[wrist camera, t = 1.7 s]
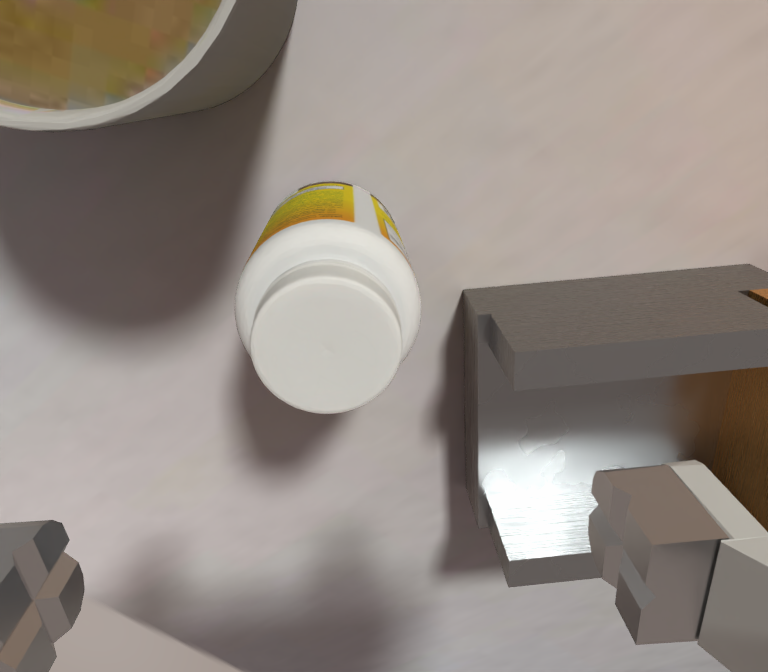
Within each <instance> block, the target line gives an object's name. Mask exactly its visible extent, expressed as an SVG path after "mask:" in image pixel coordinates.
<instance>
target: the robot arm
mask: <svg viewBox="0 0 768 672" xmlns="http://www.w3.org/2000/svg"><path fill="white" fill-rule="evenodd" d="M591 493H592V495H593V496H594V498H595V500H596V501H597V503H598V506H597V507H596V508H595V509H594V510H593V511H592V512H591V514H590V515H589V524H588V536H589V543H590V549H591V553H592V556H593V559H594V562H595V565H596V567H597V569H598V571H599V573H600V575H601V577H602V579H603V580H605V581H606V582H608V583H609V584H611V585H612V586H614V587H615V588H617V591H616V600H615V605H616V607H617V609H618V611H619V613H620V615H621V617H622V619H623V620H624V622H625V624H626V626H627V628H628V630H629V632H630V634H631V636H632V638H633V640H634V642H635V644H636V645H641V644H656V643H672V642H687V641H698V645H699V646H701V647H702V648H703V649H704V650H705V651H707V652H708V653H709V654H710V655H712V656H713V657H714V658H715V659H716V660H718V661H719V662H720V663H721V664H723V665H724V666H725V667H726V668H728V669H729V670H730V671H731V672H768V532H767V531H766V530H765V529H764V528H763V526H762V525H761V524H760V523H759V522H758V521H757V520H756V519H755V518H754V517H753V516H752V515H751V514H750V513H749V512H748V511H747V509H746V508H745V507H744V506H743V505H742V504H741V503H740V502H739V501H738V500H737V499H736V498H735V497H734V496H733V495H732V494H731V493H730V491H729V490H728V489H727V488H726V487H725V486H724V485H723V484H722V483H721V482H720V481H719V480H718V479H717V478H716V477H715V476H714V475H713V473H712V472H711V471H710V470H709V469H708V468H707V467H706V466H705V465H704V464H703V463H701V462H698V461H696V460H690V461H681V462H672V463H663V464H661V465H652V466H641V467H631V468H621V469H610V470H600V471H596V473H595V475H594V477H593V481H592V490H591ZM68 542H69V538H68V536H67V533H66V531H65V529H64V527H63V525H62V523H60V522H57V521H54V520H45V521H30V522H15V523H0V672H49V670H50V668H51V666H52V664H53V663H54V661H55V659H56V652H55V648H54V644H53V643H54V642H56V641H57V640H58V639H59V638H60V637H62V636H63V635H64V634H65V633H66V632H68V631H69V630H70V629H71V628H72V626H73V624H74V622H75V620H76V618H77V616H78V614H79V612H80V610H81V605H82V600H83V595H84V579H83V573H82V571H81V568H80V565H79V563H78V562H77V561H76V560H75V559H73V558H72V557H70V556H69V555H68V554H66V553H65V552H64V550H65V548H66V546H67V544H68Z"/></svg>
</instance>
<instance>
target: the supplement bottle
mask: <svg viewBox="0 0 768 672" xmlns="http://www.w3.org/2000/svg"><path fill="white" fill-rule="evenodd" d="M235 319H236V325H237V330H238V333H239V336H240V339H241V341H242V343H243V345H244V347H245V349H246V351H247V352H248V354H249V355H250V357H251V359H252V362H253V365H254V368H255V370H256V373H257V374H258V376H259V378H260V379H261V381H262V382H263V384H264V385H265V386H266V387H267V389H268V390H269V391H270V392H271V393H273V394H274V395H275V396H276V397H277V398H279V399H280V400H282V401H283V402H285V403H286V404H288V405H290V406H292V407H295V408H297V409H300V410H303V411H307V412H312V413H318V414H334V413H342V412H347V411H351V410H354V409H356V408H359V407H361V406H363V405H365V404H367V403H369V402H370V401H372V400H373V399H375V398H376V397H377V396H378V395H380V394H381V393H382V392H383V391H384V390H385V389H386V387H387V386H388V385H389V384H390V382H391V381H392V379H393V378H394V376H395V374H396V372H397V369H398V367H399V365H400V364H401V363H402V362H403V361H404V359H405V358H406V356H407V355H408V353H409V352H410V350H411V348H412V346H413V344H414V342H415V340H416V337H417V334H418V331H419V327H420V321H421V298H420V292H419V287H418V284H417V280H416V277H415V275H414V272H413V270H412V267H411V264H410V262H409V259H408V256H407V253H406V251H405V248H404V246H403V243H402V240H401V238H400V235H399V233H398V231H397V228H396V226H395V223H394V221H393V219H392V217H391V215H390V214H389V212H388V210H387V209H386V208H385V206H384V205H383V204H382V203H381V202H380V201H379V200H378V199H377V198H376V197H375V196H373V195H372V194H371V193H369V192H368V191H366V190H364V189H363V188H361V187H358V186H356V185H353V184H350V183H346V182H341V181H321V182H316V183H311V184H308V185H305V186H303V187H301V188H299V189H297V190H295V191H294V192H292V193H291V194H290V195H289V196H287V197H286V198H285V199H284V200H283V201H282V202H281V203H280V204H279V206H278V207H277V208H276V210H275V211H274V212H273V214H272V216H271V218H270V220H269V221H268V223H267V225H266V227H265V229H264V231H263V233H262V235H261V236H260V238H259V240H258V242H257V244H256V246H255V248H254V249H253V251H252V253H251V255H250V257H249V259H248V261H247V263H246V265H245V267H244V269H243V271H242V274H241V277H240V279H239V282H238V286H237V290H236V295H235Z"/></svg>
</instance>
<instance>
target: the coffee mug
mask: <svg viewBox="0 0 768 672" xmlns="http://www.w3.org/2000/svg"><path fill="white" fill-rule="evenodd" d="M296 6H297V0H0V126H1V127H6V128H11V129H17V130H29V131H45V132H65V131H77V130H90V129H96V128H102V127H108V126H114V125H119V124H125V123H131V122H137V121H142V120H148V119H154V118H160V117H166V116H171V115H177V114H183V113H189V112H194V111H200V110H204V109H208V108H211V107H215V106H217V105H220V104H222V103H225V102H227V101H229V100H231V99H233V98H234V97H236V96H237V95H239V94H241V93H242V92H244V91H245V90H246V89H248V88H249V87H250V86H251V85H252V84H254V83H255V82H256V81H257V80H258V79H259V78H260V77H261V76H262V75H263V74H264V73H265V71H266V70H267V69H268V68H269V67H270V65H271V64H272V62H273V61H274V59H275V58H276V56H277V55H278V53H279V51H280V49H281V47H282V46H283V44H284V42H285V40H286V37H287V35H288V33H289V30H290V27H291V25H292V22H293V18H294V14H295V10H296Z"/></svg>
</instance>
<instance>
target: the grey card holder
mask: <svg viewBox="0 0 768 672" xmlns="http://www.w3.org/2000/svg"><path fill="white" fill-rule="evenodd" d="M463 317H464V386H465V454H466V489H467V492H468V495H469V499H470V502H471V505H472V509H473V512H474V515H475V519H476V522H477V525H478V528H487V527H489V529H490V532H491V535H492V539H493V542H494V545H495V548H496V551H497V554H498V557H499V560H500V563H501V566H502V569H503V572H504V575H505V578H506V581H507V584H508V587H517V586H526V585H536V584H545V583H555V582H564V581H573V580H583V579H592V578H602V577H601V575H600V573H599V571H598V569H597V567H596V565H595V562H594V559H593V556H592V553H591V549H590V543H589V536H588V524H589V515H590V514H591V512H592V511H593V510H594V509H595V508H596V507H597V506H598V503H597V501H596V500H595V498H594V496H593V495H592V493H591V490H592V481H593V477H594V475H595V473H596V471H600V470H610V469H621V468H631V467H641V466H652V465H661V464H663V463H672V462H681V461H690V460H696V461H698V462H701V463H703V464H704V465H705V466H706V467H707V468H708V469H709V470H710V471H711V472H712V473H713V475H714V476H715V477H716V478H717V479H718V480H719V481H720V482H721V483H722V484H723V485H724V486H725V487H726V488H727V489H728V490H729V491H730V493H731V494H732V495H733V496H734V497H735V498H736V499H737V500H738V501H739V502H740V503H741V504H742V505H743V506H744V507H745V508H746V509H747V511H748V512H749V513H750V514H751V515H752V516H753V517H754V518H755V519H756V520H757V521H758V522H759V523H760V524H761V525H762V526H763V528H764V529H765V530H766V531H767V532H768V272H766V271H764V270H762V269H759V268H757V267H755V266H753V265H750V264H743V265H732V266H721V267H709V268H698V269H687V270H676V271H665V272H654V273H643V274H632V275H621V276H610V277H599V278H588V279H577V280H566V281H555V282H544V283H533V284H522V285H511V286H500V287H489V288H478V289H467V290H463Z"/></svg>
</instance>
